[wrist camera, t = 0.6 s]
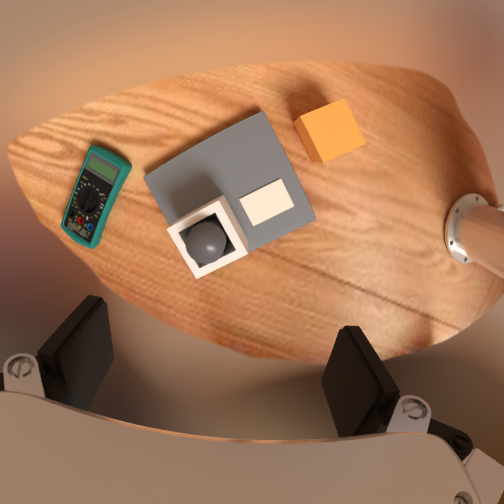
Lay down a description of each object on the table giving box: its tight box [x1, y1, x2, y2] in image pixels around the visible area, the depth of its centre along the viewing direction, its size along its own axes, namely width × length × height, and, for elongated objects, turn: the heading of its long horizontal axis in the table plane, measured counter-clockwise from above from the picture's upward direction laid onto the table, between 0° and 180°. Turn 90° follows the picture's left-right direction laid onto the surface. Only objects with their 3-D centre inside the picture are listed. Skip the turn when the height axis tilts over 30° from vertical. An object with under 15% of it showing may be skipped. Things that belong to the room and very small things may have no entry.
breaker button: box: [185, 218, 228, 264], centre depth 33 cm, size 4×4×4 cm
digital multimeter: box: [61, 145, 132, 249], centre depth 37 cm, size 7×15×3 cm, turn 148°
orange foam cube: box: [293, 99, 366, 163], centre depth 32 cm, size 6×6×6 cm
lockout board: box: [143, 111, 317, 279], centre depth 34 cm, size 18×16×7 cm
